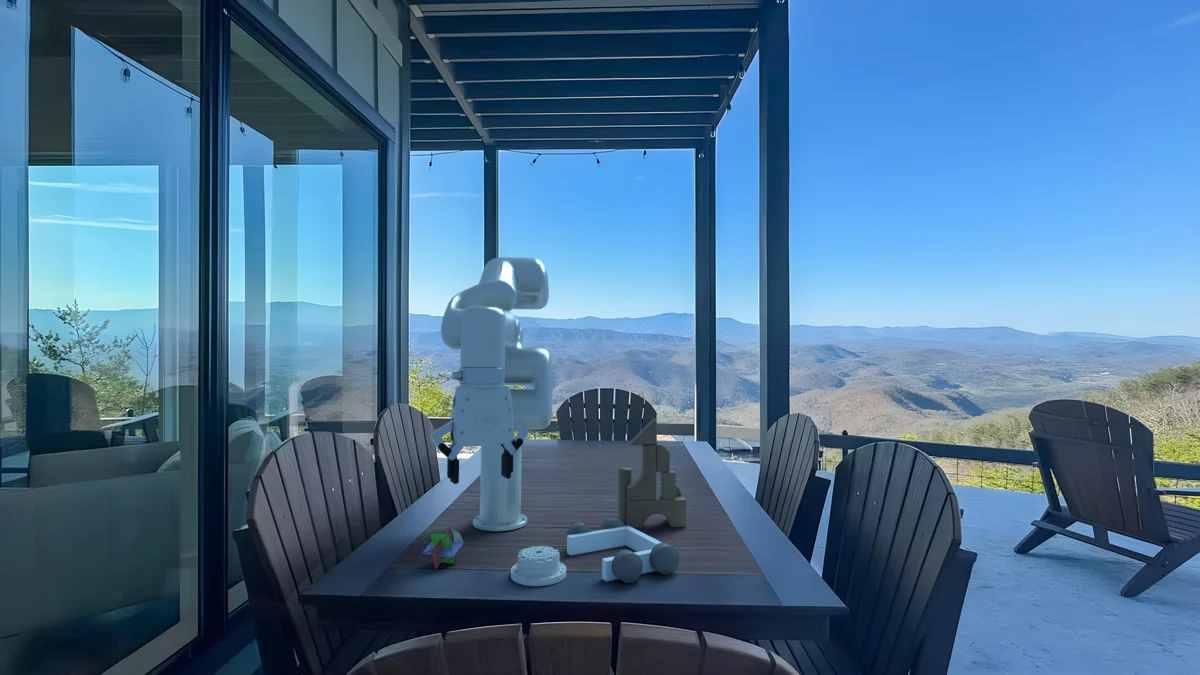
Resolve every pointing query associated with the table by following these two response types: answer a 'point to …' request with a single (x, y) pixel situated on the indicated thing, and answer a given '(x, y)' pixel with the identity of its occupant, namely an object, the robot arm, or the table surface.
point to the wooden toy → (650, 485)
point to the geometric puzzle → (443, 547)
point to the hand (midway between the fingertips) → (480, 479)
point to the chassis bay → (624, 562)
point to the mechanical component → (538, 567)
